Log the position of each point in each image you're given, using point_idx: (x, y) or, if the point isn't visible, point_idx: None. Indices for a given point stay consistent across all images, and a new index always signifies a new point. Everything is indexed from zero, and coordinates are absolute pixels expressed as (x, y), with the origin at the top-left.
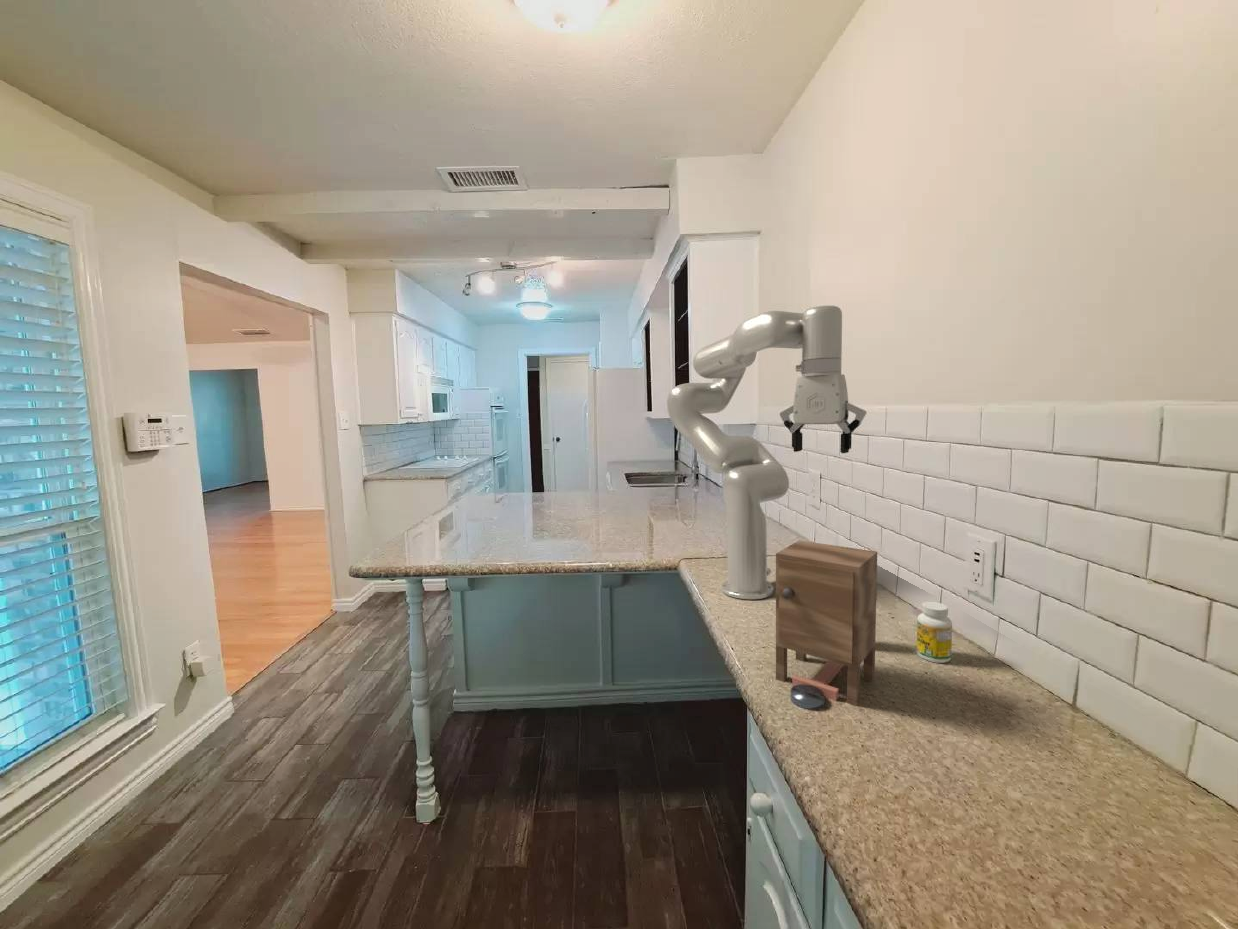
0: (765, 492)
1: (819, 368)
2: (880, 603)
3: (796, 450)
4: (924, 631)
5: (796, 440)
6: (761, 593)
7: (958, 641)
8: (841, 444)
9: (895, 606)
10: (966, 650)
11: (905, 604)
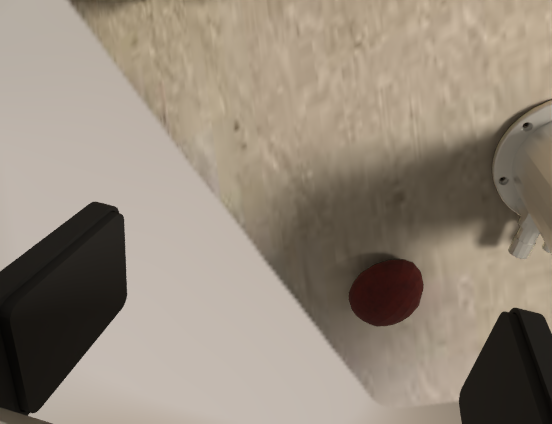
0: None
1: None
2: (264, 190)
3: (511, 312)
4: None
5: (539, 396)
6: (523, 130)
7: (128, 60)
8: (70, 237)
9: (239, 185)
10: (113, 24)
11: (225, 201)
